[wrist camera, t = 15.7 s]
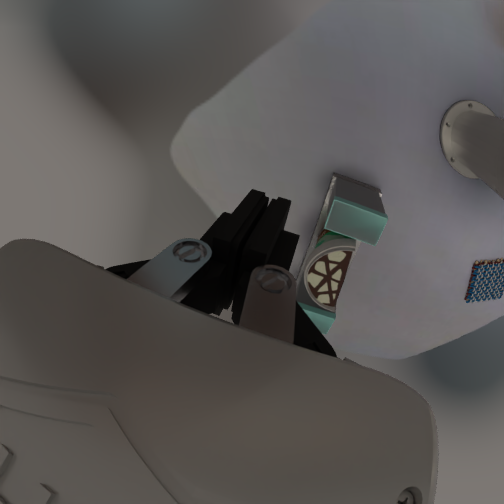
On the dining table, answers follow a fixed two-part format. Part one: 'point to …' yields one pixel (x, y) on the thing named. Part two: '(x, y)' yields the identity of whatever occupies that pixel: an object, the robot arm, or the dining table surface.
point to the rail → (323, 217)
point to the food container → (328, 267)
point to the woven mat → (486, 281)
